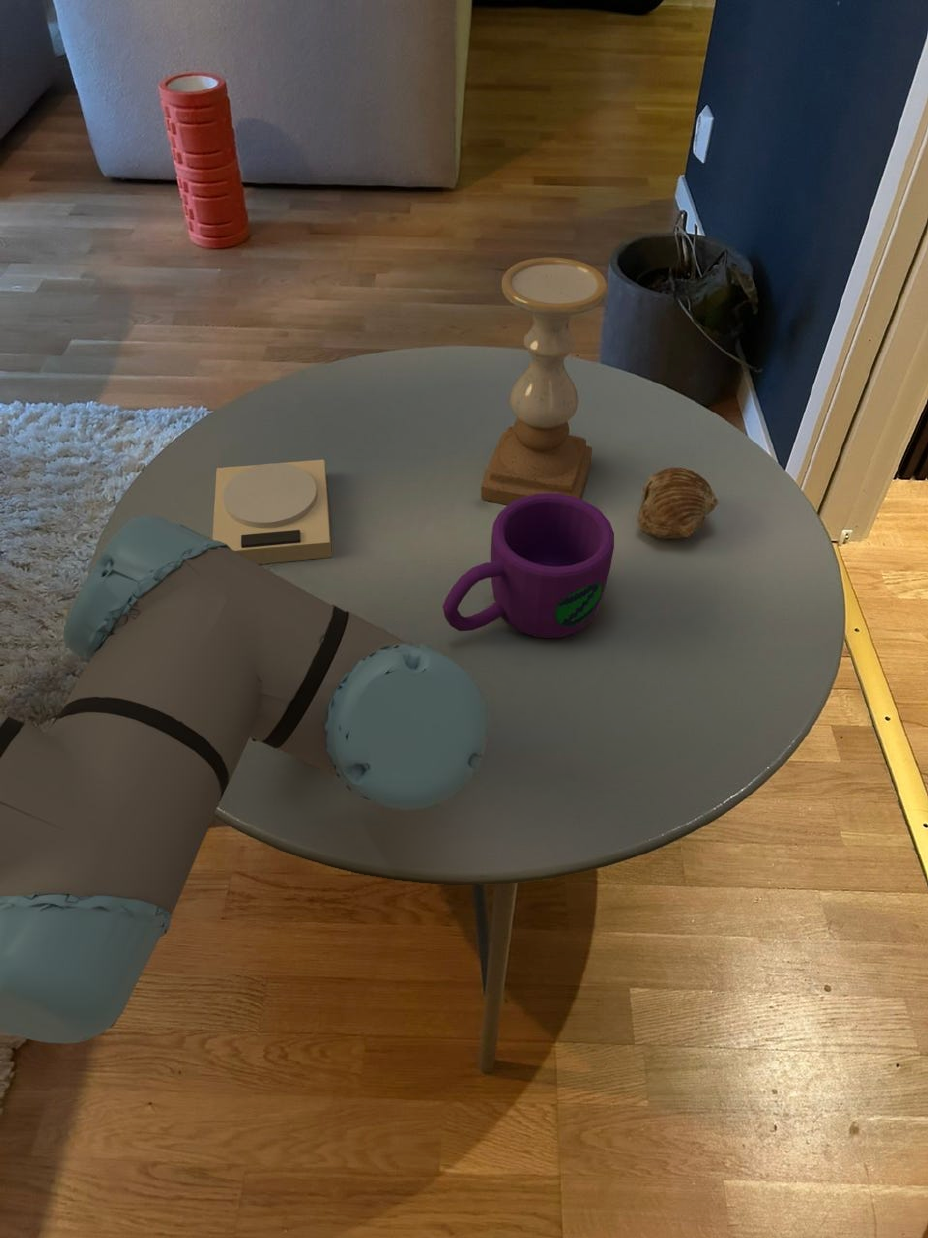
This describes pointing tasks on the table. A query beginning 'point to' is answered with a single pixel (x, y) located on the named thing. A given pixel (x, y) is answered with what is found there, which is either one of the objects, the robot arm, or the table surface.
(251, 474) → the kitchen scale
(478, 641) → the table surface
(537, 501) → the mug
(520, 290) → the candle holder
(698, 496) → the seashell
